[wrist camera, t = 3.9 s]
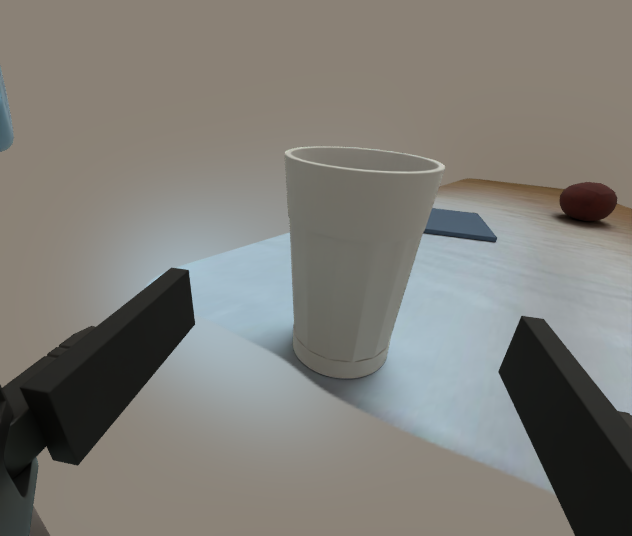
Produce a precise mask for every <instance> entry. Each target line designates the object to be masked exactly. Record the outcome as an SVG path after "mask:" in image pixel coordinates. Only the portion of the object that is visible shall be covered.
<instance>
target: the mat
mask: <svg viewBox="0 0 632 536" xmlns="http://www.w3.org/2000/svg"><path fill="white" fill-rule="evenodd" d="M423 233H431V234H438V235H446V236H454V237H461V238H469V239H477V240H485V241H492V242H496V240H497V237H496V236H495V235H494V233H493V232H492V231H491V230H490V228H489V227H488V226H487V225H486V223H485V222H484V221H483V220H482V218H481V217H480V216H479V215H478V214H477V213H469V212H460V211H452V210H443V209H435V208H432V210H431V213H430V216H429V219H428V222H427V225H426V228H425V231H424V232H423Z"/></svg>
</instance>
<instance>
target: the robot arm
mask: <svg viewBox="0 0 632 536" xmlns="http://www.w3.org/2000/svg"><path fill="white" fill-rule="evenodd" d="M13 138H14V137H13V127H12V121H11V115H10V110H9V104H8V99H7V94H6V89H5V85H4V81H3V75H2V71H1V67H0V152H2V151H5V150H7V149H8V148H9V147H10V146H11V145H12V143H13ZM194 325H195V319H194V311H193V303H192V294H191V286H190V278H189V270H184V269H177V268H171V269H169V270H168V271H167V272H165V273H164V274H163V275H162V276H160V277H159V278H158V279H156V280H155V281H154V282H153V283H151V284H150V285H149V286H148V287H146V288H145V289H144V290H142V291H141V292H140V293H139V294H137V295H136V296H135V297H134V298H132V299H131V300H130V301H129V302H127V303H126V304H125V305H123V306H122V307H121V308H120V309H119V310H117V311H116V312H115V313H113V314H112V315H111V316H109V317H108V318H107V319H106V320H104V321H103V322H102V323H101V324H99V325H98V326H97V327H94V326H91V327H88V328H86V329H84V330H82V331H80V332H78V333H75V334H73V335H72V336H71V337H70V338H68V339H67V340H65V341H64V342H63V343H61V344H60V345H59V347H56V348H55V349H54V350H52V351H51V352H49V353H48V354H47V356H44V357H43V358H41V359H40V360H39V361H37V362H36V363H35V364H33V365H32V366H31V367H29V368H28V369H27V370H25V371H24V372H23V373H21V374H20V375H19V376H17V377H16V378H15V379H13V380H12V381H11V382H9V383H8V384H7V385H6V386H4V387H3V388H1V385H0V536H29V532H30V525H31V517H32V510H33V503H34V494H35V488H36V480H37V473H38V461H37V458H36V456H37V455H38V454H39V453H40V452H41V451H42V450H43V449H44V448H45V447H46V446H47V448H48V451H49V453H50V455H51V457H52V459H53V460H55V461H59V462H64V463H69V464H73V465H79V464H80V462H81V461H82V460H83V459H84V457H85V456H86V455H87V454H88V453H89V452H90V450H91V449H92V448H93V446H94V445H95V444H96V443H97V442H98V441H99V439H100V438H101V437H102V436H103V435H104V433H105V432H106V431H107V430H108V429H109V427H110V426H111V425H112V424H113V423H114V421H115V420H116V419H117V418H118V417H119V415H120V414H121V413H122V412H123V410H124V409H125V408H126V407H127V406H128V405H129V403H130V402H131V401H132V400H133V398H134V397H135V396H136V395H137V394H138V392H139V391H140V390H141V389H142V388H143V386H144V385H145V384H146V383H147V382H148V380H149V379H150V378H151V377H152V376H153V374H154V373H155V372H156V371H157V370H158V368H159V367H160V366H161V365H162V363H163V362H164V361H165V360H166V359H167V357H168V356H169V355H170V354H171V353H172V351H173V350H174V349H175V348H176V347H177V345H178V344H179V343H180V342H181V341H182V339H183V338H184V337H185V336H186V334H187V333H188V332H189V331H190V329H191V328H192V327H193V326H194ZM499 374H500V376H501V378H502V381H503V383H504V385H505V387H506V389H507V391H508V393H509V396H510V398H511V400H512V402H513V404H514V406H515V408H516V410H517V413H518V415H519V417H520V419H521V421H522V423H523V425H524V428H525V430H526V432H527V434H528V436H529V438H530V440H531V442H532V445H533V447H534V449H535V451H536V453H537V455H538V457H539V460H540V462H541V464H542V466H543V468H544V470H545V472H546V474H547V477H548V479H549V481H550V483H551V485H552V487H553V489H554V492H555V494H556V496H557V498H558V500H559V502H560V504H561V506H562V508H563V511H564V513H565V515H566V517H567V519H568V521H569V524H570V526H571V528H572V530H573V531H574V534H575V536H632V416H631V415H630V414H629V413H626V412H620V411H617V410H616V409H615V408H614V406H613V405H612V404H611V403H610V401H609V400H608V399H607V398H606V396H605V395H604V394H603V393H602V391H601V390H600V389H599V388H598V386H597V385H596V384H595V383H594V381H593V380H592V379H591V378H590V376H589V375H588V374H587V373H586V371H585V370H584V369H583V368H582V366H581V365H580V364H579V363H578V361H577V360H576V359H575V358H574V356H573V355H572V354H571V353H570V351H569V350H568V349H567V348H566V346H565V345H564V344H563V343H562V341H561V340H560V339H559V338H558V336H557V335H556V334H555V333H554V331H553V330H552V329H551V328H550V326H549V325H548V324H547V323H546V321H545V320H544V319H540V318H533V317H526V316H521V319H520V321H519V324H518V326H517V328H516V331H515V333H514V336H513V338H512V340H511V343H510V345H509V348H508V350H507V352H506V355H505V357H504V360H503V362H502V364H501V367H500V369H499Z"/></svg>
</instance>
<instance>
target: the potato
mask: <svg viewBox="0 0 632 536" xmlns="http://www.w3.org/2000/svg"><path fill="white" fill-rule="evenodd" d="M616 204H617V196H616V195H615V192H614V191H613V190H612V189H610V188H609V187H607V186H605V185H603V184H601V183H591V182H585V183H579V184H575V185H571V186H569V187H568V188H566V189H564V191H563V192H562V194H561V195H560V206H561V208H562V210H563V212H564V213H565V214H567V215H569V216H570V217H573V218H575V219H579V220H584V221H597V220H601V219H604V218H605V217H607V216H608V215H609V214H611V213H612V211H613V210H614V209H615V206H616Z"/></svg>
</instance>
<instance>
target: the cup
mask: <svg viewBox="0 0 632 536" xmlns="http://www.w3.org/2000/svg"><path fill="white" fill-rule="evenodd" d="M285 168H286V169H285V170H286V185H287V203H288V216H289V218H290V241H291V264H292V287H293V310H294V326H293V349H294V351H295V354H296V355H297V357H298V358H299V359H300V361H301V362H302V363H303V364H305V365H306V366H307V367H309V368H310V369H312V370H313V371H315V372H318V373H320V374H322V375H326V376H329V377H334V378H341V379H352V378H360V377H364V376H367V375H369V374H372V373H374V372H375V371H377V370H378V369H379V368H380V367H381V366H382V365H383V364H384V362H385V360H386V358H387V353H388V349H389V344H390V338H391V334H392V331H393V328H394V324H395V321H396V318H397V315H398V311H399V308H400V305H401V302H402V298H403V295H404V292H405V289H406V286H407V282H408V279H409V276H410V273H411V269H412V266H413V263H414V260H415V256H416V253H417V250H418V247H419V244H420V240H421V237H422V234H423V232H424V231H425V228H426V225H427V222H428V219H429V216H430V213H431V210H432V207H433V204H434V201H435V197H436V194H437V191H438V188H439V185H440V182H441V179H442V176H443V173H444V170H445V166H444V165H443V164H442V163H440V162H437V161H435V160H432V159H428V158H424V157H420V156H415V155H410V154H404V153H398V152H391V151H384V150H374V149H364V148H351V147H323V146H322V147H321V146H320V147H300V148H293V149H290V150H287V151H286V152H285Z"/></svg>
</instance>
